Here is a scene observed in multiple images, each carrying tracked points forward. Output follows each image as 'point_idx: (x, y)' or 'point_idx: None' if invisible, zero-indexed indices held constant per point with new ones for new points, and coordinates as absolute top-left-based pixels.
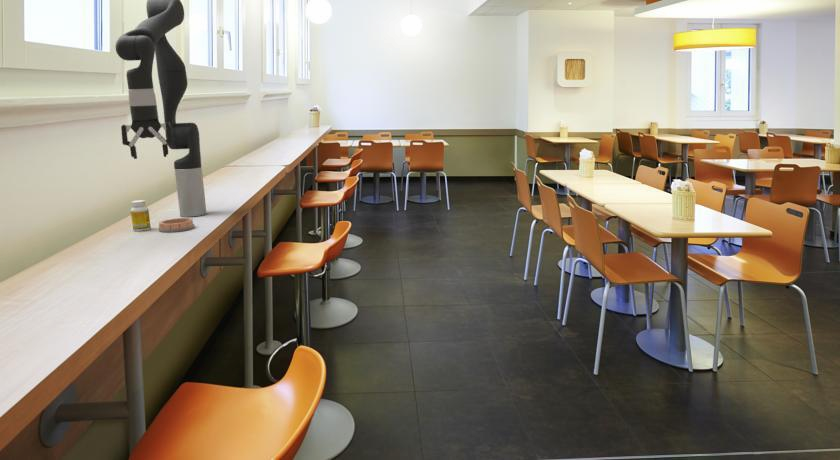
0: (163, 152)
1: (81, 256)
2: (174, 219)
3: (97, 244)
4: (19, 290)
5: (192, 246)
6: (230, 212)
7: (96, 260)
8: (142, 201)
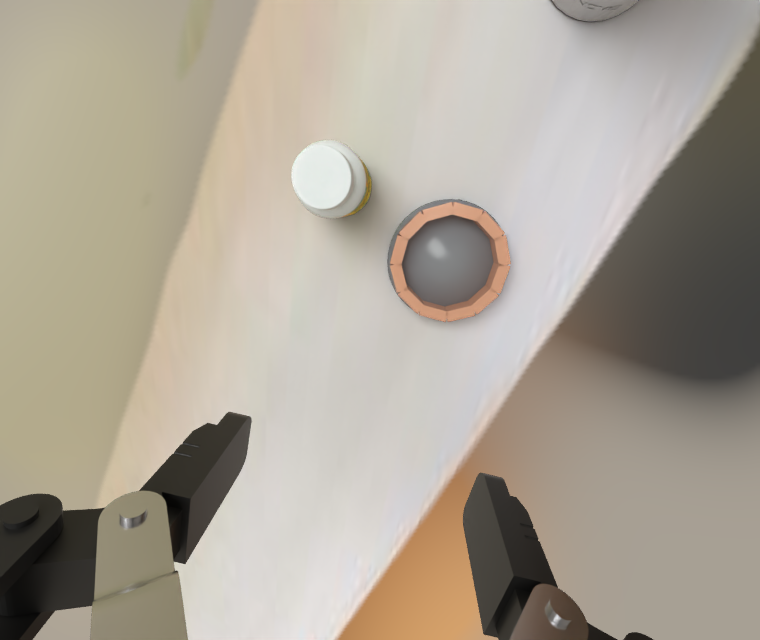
0: (470, 551)
1: None
2: (456, 215)
3: (209, 333)
4: None
5: (420, 512)
6: (754, 22)
7: None
8: (337, 205)
